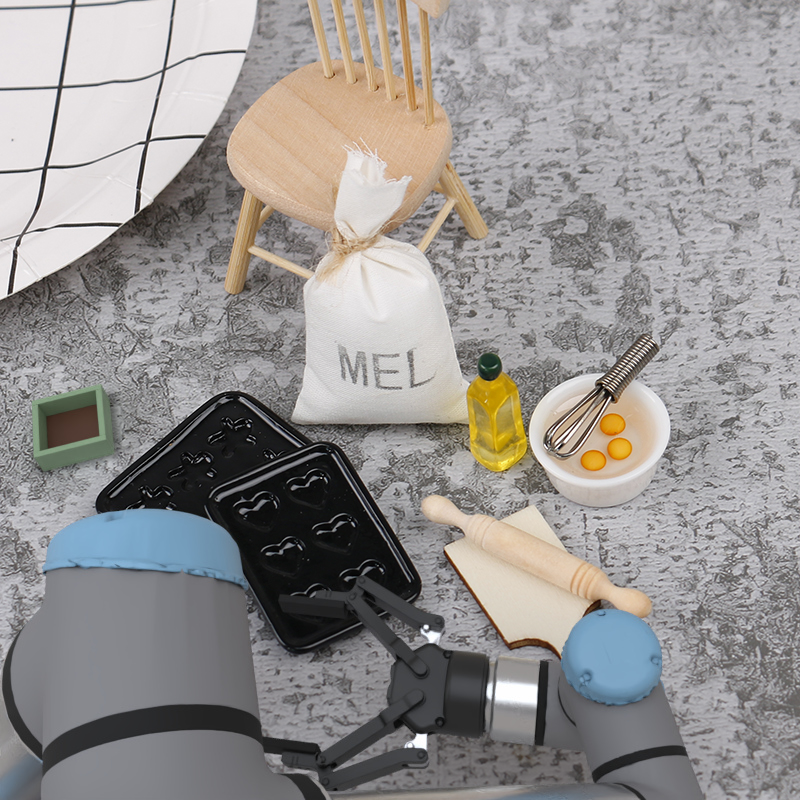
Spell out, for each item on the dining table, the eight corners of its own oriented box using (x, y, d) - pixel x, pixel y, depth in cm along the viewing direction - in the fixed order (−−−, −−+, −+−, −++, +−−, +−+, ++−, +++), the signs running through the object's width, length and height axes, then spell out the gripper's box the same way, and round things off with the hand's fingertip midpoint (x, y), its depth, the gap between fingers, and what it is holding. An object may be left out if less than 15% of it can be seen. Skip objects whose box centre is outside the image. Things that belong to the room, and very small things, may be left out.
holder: (114, 454, 121) (106, 439, 118) (44, 472, 120) (33, 457, 117) (109, 399, 126) (101, 383, 123) (41, 416, 125) (31, 400, 122)
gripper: (476, 851, 82) (243, 817, 86) (500, 587, 97) (299, 567, 100) (475, 834, 76) (224, 798, 80) (500, 555, 90) (286, 534, 94)
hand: (265, 669), depth 90 cm, fingers open, 13 cm apart
